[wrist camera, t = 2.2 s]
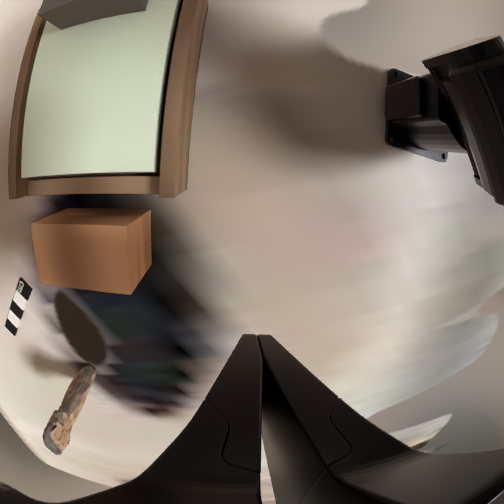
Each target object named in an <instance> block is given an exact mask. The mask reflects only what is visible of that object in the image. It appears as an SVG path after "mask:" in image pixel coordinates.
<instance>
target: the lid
mask: <svg viewBox="0 0 504 504" xmlns="http://www.w3.org/2000/svg"><path fill="white" fill-rule="evenodd" d="M180 1H181V0H44V1H43V3H42V5H41V8H40V10H39V13H38V16H40V17H41V18H43V19H45V20H46V24H45V27H44V30H43V33H42V37H41V40H40V43H39V47H38V50H37V54H36V58H35V62H34V66H33V70H32V75H31V80H30V85H29V90H28V96H27V103H26V110H25V118H24V127H23V139H22V159H21V178H27V177H37V176H49V175H63V174H80V173H105V172H157V162H158V146H159V133H160V122H161V112H162V103H163V95H164V87H165V80H166V73H167V66H168V60H169V54H170V49H171V43H172V38H173V33H174V28H175V23H176V18H177V14H178V9H179V5H180Z"/></svg>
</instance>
